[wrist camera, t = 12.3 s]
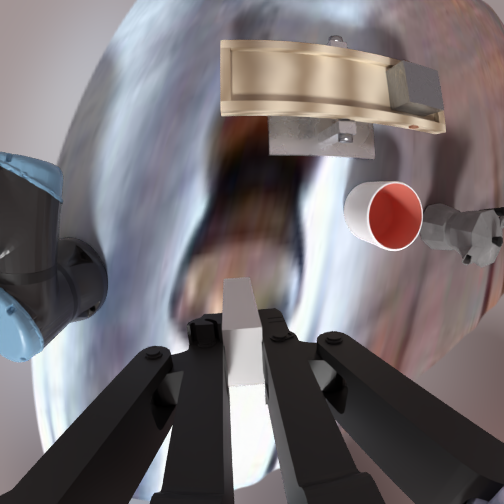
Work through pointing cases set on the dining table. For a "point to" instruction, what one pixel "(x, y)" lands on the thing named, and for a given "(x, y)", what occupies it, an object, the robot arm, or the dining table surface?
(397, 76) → the block
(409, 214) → the cup
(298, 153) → the stand
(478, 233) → the coffeepot
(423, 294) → the dining table surface
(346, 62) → the beam
